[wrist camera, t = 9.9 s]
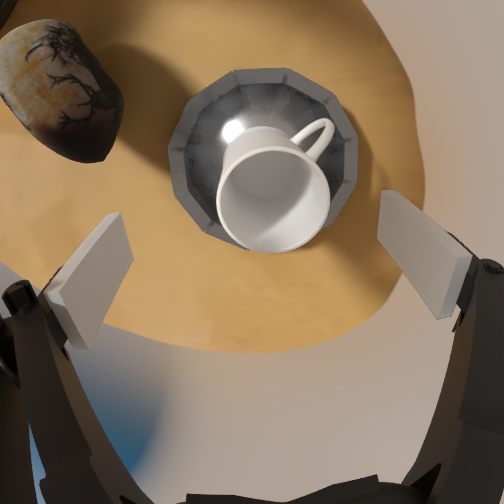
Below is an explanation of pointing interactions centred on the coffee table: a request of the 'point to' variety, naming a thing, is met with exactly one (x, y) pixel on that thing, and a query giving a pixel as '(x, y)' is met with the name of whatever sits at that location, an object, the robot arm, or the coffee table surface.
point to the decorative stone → (60, 90)
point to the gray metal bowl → (248, 116)
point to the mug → (274, 188)
